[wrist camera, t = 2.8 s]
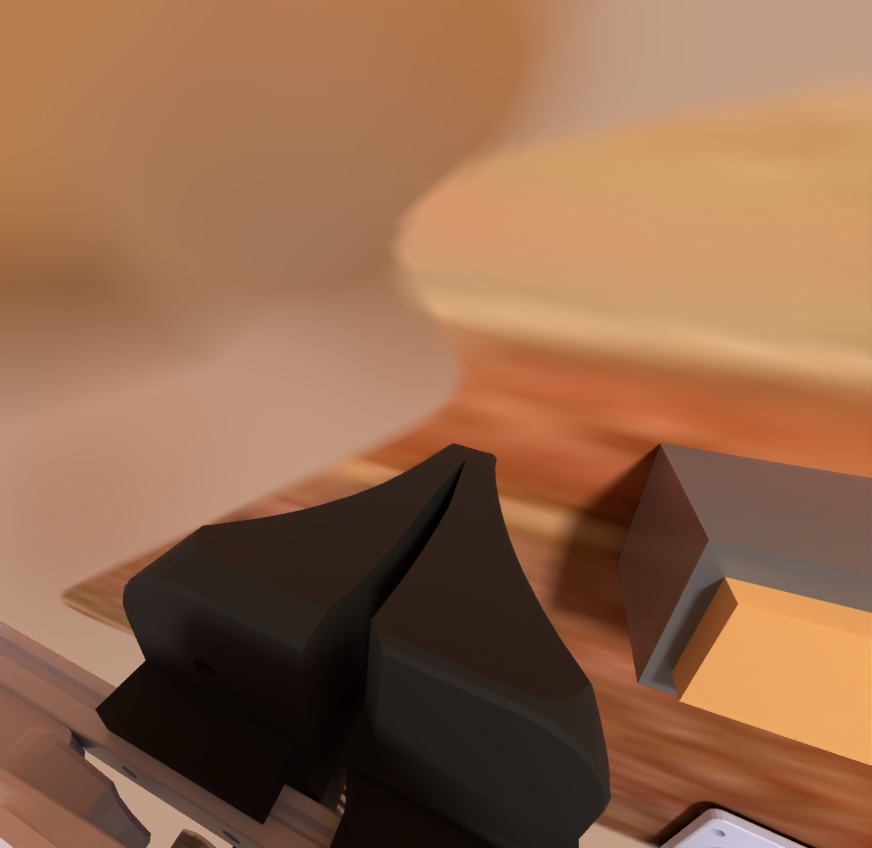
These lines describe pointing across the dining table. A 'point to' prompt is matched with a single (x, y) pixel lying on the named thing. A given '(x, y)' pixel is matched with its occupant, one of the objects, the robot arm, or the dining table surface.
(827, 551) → the grey box orange face
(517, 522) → the dining table surface
